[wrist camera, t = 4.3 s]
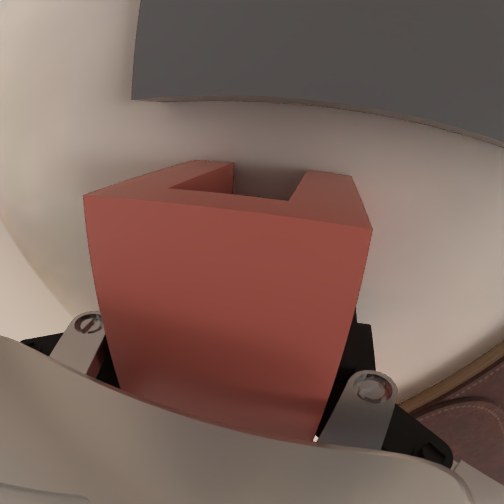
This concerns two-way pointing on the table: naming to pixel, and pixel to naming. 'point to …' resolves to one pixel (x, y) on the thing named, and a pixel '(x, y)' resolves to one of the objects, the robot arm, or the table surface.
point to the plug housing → (228, 292)
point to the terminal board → (331, 57)
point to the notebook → (468, 413)
